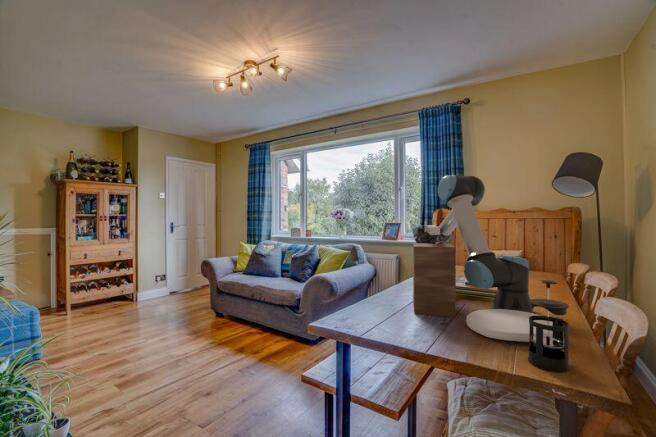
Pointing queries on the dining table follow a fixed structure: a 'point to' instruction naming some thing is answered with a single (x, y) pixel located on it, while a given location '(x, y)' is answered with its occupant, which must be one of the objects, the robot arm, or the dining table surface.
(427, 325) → the dining table surface
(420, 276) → the walnut stand
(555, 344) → the french press
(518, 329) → the plate
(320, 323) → the dining table surface
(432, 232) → the metal bar
